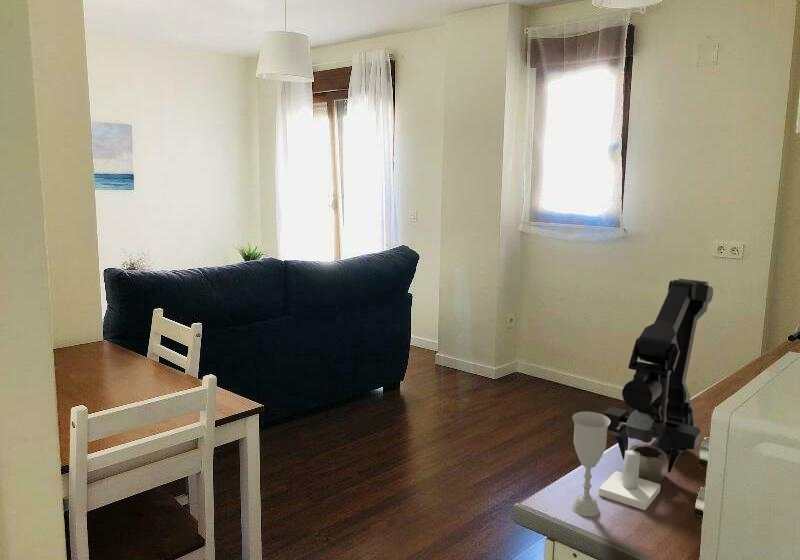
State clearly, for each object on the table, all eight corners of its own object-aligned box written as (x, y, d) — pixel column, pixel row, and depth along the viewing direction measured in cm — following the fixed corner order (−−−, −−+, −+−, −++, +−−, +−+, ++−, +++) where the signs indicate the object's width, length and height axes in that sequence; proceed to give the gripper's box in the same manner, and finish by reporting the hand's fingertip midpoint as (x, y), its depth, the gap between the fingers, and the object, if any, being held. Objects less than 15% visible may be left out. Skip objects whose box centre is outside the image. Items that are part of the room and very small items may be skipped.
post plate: (615, 477, 134) (617, 439, 132) (659, 491, 128) (663, 451, 127) (598, 495, 127) (601, 454, 125) (645, 510, 121) (648, 468, 120)
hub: (634, 463, 140) (636, 441, 139) (667, 472, 136) (669, 450, 135) (623, 475, 135) (625, 453, 134) (657, 485, 131) (659, 462, 130)
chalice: (606, 521, 118) (613, 428, 114) (567, 517, 119) (573, 425, 116) (602, 501, 125) (608, 413, 121) (566, 497, 126) (571, 410, 123)
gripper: (593, 395, 131) (588, 466, 134) (690, 418, 120) (682, 495, 123) (612, 380, 140) (608, 447, 143) (705, 400, 129) (698, 473, 132)
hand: (646, 465), depth 135 cm, fingers open, 9 cm apart
